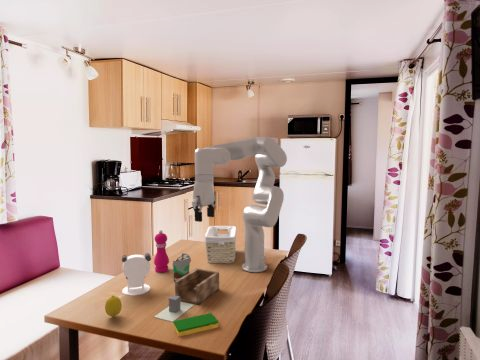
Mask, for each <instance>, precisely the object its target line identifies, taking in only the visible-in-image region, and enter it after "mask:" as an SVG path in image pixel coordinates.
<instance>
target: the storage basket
mask: <svg viewBox="0 0 480 360" xmlns="http://www.w3.org/2000/svg"><path fill="white" fill-rule="evenodd" d="M219 231H220V232H221V231H222V232H223V231H225V232H226V231H227V233H219ZM236 241H237V227H236V225H209V226H208V228H207V230H206V232H205V235H204V245H205V250H206V251H205V252H206V253H205V255H206V259H207V260H206V262H207V263H209V264H212V263H213V264H230V263H231V264H233V263H235V259H236V251H237V250H236V249H237V248H236Z"/></svg>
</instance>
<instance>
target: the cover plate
mask: <svg viewBox="0 0 480 360" xmlns="http://www.w3.org/2000/svg"><path fill="white" fill-rule="evenodd" d="M194 306H195V304H192V303H188V302H183V301H180V296H175V294H174V295H172V296H170V297H169V298H168V306H167V307H165V308H164V309H163V310H162V311H160V312H158V313H157V314H156V315H154V316H153V318H154V319H159V320H163V321H167V322H171V323H173V321H176V320H178V319H179V318H180V317H181V316H182V315H184V314H185V313H186V312H188V311H189V310H190V309H191V308H193V307H194Z"/></svg>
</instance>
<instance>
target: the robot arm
mask: <svg viewBox="0 0 480 360" xmlns="http://www.w3.org/2000/svg"><path fill="white" fill-rule="evenodd" d="M253 156H254V161H255V164H256V166H257V170H258V177H257V180H256V184H255V187H254V189H253V193H252V197H251V198H252V201H253V202H254V203H255V204H250V205H247V206H245V207H244V209H243V212H242V220H243V224H244V225H243V226H244V263H242V265H241V269H242V270H243V271H244V272H249V273H262V272H264V271H266V270H267V269H268V264H266V263H265V260H266V256H265V230H264V228H272V227H274V226H276V225H277V222H278V219H279V215H280V212H281V210H282V206H283V203H284V200H285V199H284V191H283V190H282V188H280V187H279V186H275V185H274V184H275V181H276V175H275V173H274V169H272V168H282V167H284V166H285V165H286V164H287V160H288V159H287V154H286V152H285V150H284V149H283V148H282V147H281V145H279V143H277V142H276V141H275V140H274V139H273V138H272V137H269V136H254V137H253V136H252V137H249V138H245V139H240V140H237V141H231V142H225V143H221V144H214V145H210V146H207V147H201V148H196V149H195V150H194V183H193V185H194V186H193V193H192V202H191V205H192V209H193V212H194V222H198V223H201V222H203V211H202V210H203V207H206V216H207V217H208V218H215V208H216V206H215V204H216V199H217V196H216V195H215V186H214V166H225V165H228V164H229V163H230V161H237V160H239V161H240V160H244V159H247V158H251V157H253ZM263 205H264V206H263ZM263 227H264V228H263Z"/></svg>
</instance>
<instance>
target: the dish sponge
mask: <svg viewBox="0 0 480 360" xmlns="http://www.w3.org/2000/svg"><path fill="white" fill-rule="evenodd" d="M172 324H173V325H172V327H173V330H174V331H175V332H176V334H177V336H178V337H183V336H189V335H192V334H195V333H200V332H204V331H208V330H213V329H216V328H219V320H218V319H217V318H216V316H215V315H214V314H213V313H212V312H210V313H209V312H208V313H205V314H198V315H195V316H191V317H185V318H181V319H176V320H175V321H173V322H172Z"/></svg>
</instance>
